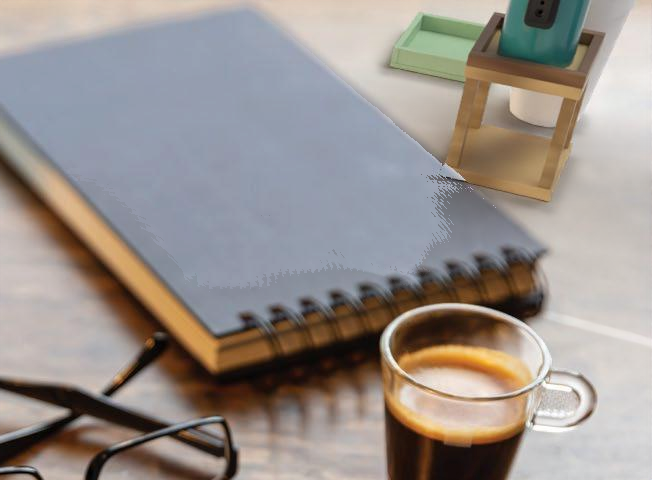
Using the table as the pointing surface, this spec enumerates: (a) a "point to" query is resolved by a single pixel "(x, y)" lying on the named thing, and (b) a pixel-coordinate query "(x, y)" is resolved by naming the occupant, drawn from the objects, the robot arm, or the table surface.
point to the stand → (512, 146)
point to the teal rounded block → (543, 34)
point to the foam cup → (604, 16)
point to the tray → (436, 46)
